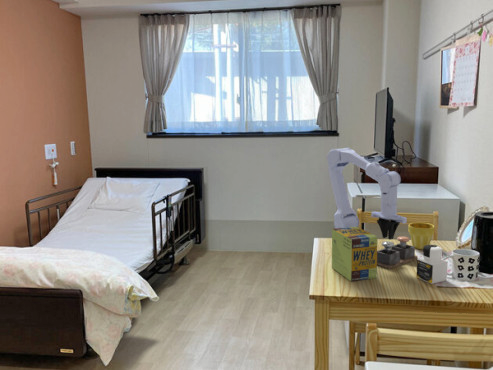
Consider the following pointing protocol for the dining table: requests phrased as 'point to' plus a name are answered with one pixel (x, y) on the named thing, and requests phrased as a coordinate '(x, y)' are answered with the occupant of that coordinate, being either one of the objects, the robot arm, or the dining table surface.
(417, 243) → the plant pot
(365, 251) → the protein box
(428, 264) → the medicine bottle
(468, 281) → the dining table surface
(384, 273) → the dining table surface
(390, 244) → the steel plunger
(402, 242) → the terracotta plunger
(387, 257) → the wooden cubby shelf
